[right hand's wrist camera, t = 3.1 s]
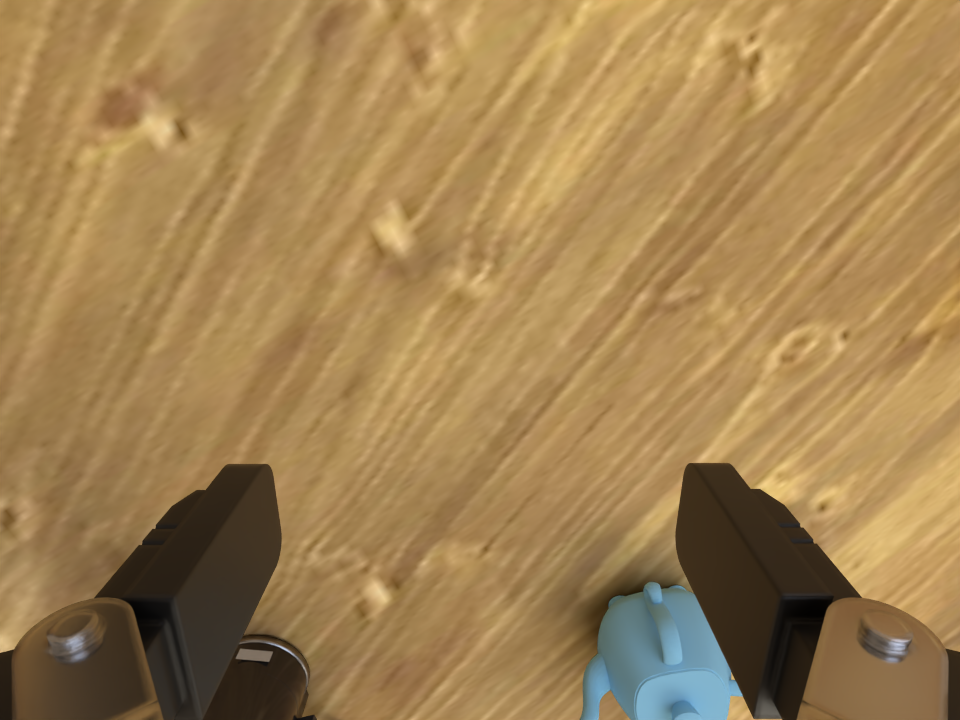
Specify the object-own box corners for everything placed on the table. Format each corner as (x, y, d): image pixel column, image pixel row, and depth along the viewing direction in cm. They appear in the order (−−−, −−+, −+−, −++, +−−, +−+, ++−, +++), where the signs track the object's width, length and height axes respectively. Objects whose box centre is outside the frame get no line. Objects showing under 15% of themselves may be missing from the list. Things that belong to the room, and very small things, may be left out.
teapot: (739, 608, 57) (802, 708, 46) (643, 700, 60) (681, 814, 50) (643, 544, 55) (686, 634, 44) (548, 643, 58) (566, 750, 47)
